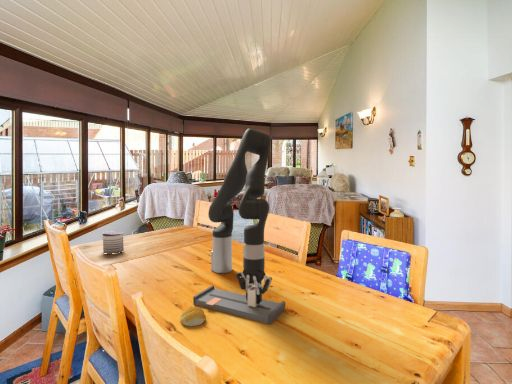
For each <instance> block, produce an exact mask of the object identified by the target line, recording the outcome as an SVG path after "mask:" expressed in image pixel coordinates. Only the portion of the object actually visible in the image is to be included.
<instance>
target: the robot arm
mask: <svg viewBox="0 0 512 384" xmlns="http://www.w3.org/2000/svg"><path fill="white" fill-rule="evenodd" d="M271 140H272V139H271V136H270V134H268V133H266V132H264V131H263V132H262V131H261V130H257V129H255V128H247V129H246V130H245V132H244V133H243V135H242V137H241V140H240V143H239V146H238V148H237V151H236V153H235V155H234V158H233V161H232V163H231V165H230V167H229V169H228V170H227V173H226V175H225V177H224V179H223V182H222V184H221V185H220V189H219V191H218V192H217V195H216V196H215V197H214V199H213V201H212V202H211V204H210V206H209V208H208V218H209V220H210V222H212V223H215V224H216V223H220V224H219V225H218V226H217V227H215V228H214V229H213V230H212V250H211V251H210V264H211V265H210V267H211V268H210V269H211V270H210V271H213V272H214V273H215V274H226V273H231V272H232V271H233V252H232V251H233V241H232V240H233V237H232V236H233V235H232V234H233V230H234V216H235V215H234V206H233V205H232V203H230V201H232V200H233V199H234V198H236V197H237V196H238V195H239V194H240V193H241V192H242V191H243V190H244V192H243V196H242V197H241V200H240V202H239V206H238V214H239V216H240V217H241V218H242V219H243V220H258V222H257V223H255V224H252V225H251V224H250V225H247V226H245V227H244V229H243V250H242V258H243V262H242V263H243V264H242V265H243V270H242V271H239V272H238V273H236V278H237V282H238V283H239V287H240V289H241V290H242V291H243V290H244V291H245V292H246V293H245V295H246V300H247V302H248V289H249V288H250V287H251V286H253V285H254V286H255V288H256V293H257V294H256V304H259V303H260V302H261V301H262V299H263V295H264V294H265V293H266V292H267V291H268V290H269V287H270V286H271V283H272V280H273V277H270V276H269V277H268V275H266V272H265V267H266V266H265V265H266V264H265V263H266V262H265V260H266V259H265V258H266V257H265V255H266V254H265V251H266V250H265V226H266V223H267V222H266V221H267V220H268V219H267V218H268V216H269V212H270V204H269V202H268V201H267V200H266V199H265V198H264V199H263V198H262V197H263V196H264V194H265V187H266V186H265V184H266V171H267V167H268V166H267V164H268V160H269V155H270V150H271ZM247 153H251V154H254V155H257V156H258V159H257V161H256V162H255V163H254V164H253V165H252V166H251V167H250V168H249V170H248V169H247V164H246V160H245V159H246V158H245V157H246V154H247ZM263 283H264V284H263Z"/></svg>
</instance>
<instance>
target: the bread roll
mask: <svg viewBox="0 0 512 384" xmlns="http://www.w3.org/2000/svg"><path fill="white" fill-rule="evenodd" d="M206 317H207V316H206V314H205V311H204V310H203V308H201V307H199V306H190V307H188V308H185V309H184V310H183V311H182V313H181V314H180V316H179V319H180V323H181V324H182V325H184V326H185V327H195V326H201V325H202V324H203V323H204V322H205V321H206V319H207V318H206Z"/></svg>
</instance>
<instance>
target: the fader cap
mask: <svg viewBox="0 0 512 384" xmlns="http://www.w3.org/2000/svg"><path fill="white" fill-rule="evenodd" d="M256 294H257V293H256V288H255V285H254V284H252V286H251V287H250V288H249V289H248V306H252V307H256V306H257V305H258V304H256Z"/></svg>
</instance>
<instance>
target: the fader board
mask: <svg viewBox="0 0 512 384" xmlns="http://www.w3.org/2000/svg"><path fill="white" fill-rule="evenodd" d="M192 298H193V305H196V306H198V307H199V306H200V307H203V308H206V309H211V310H215V311H218V312H223V313H226V314H230V315H234V316H237V317H240V318H241V317H242V318H245V319H249V320H253V321H256V322H260V323H264V324H267V325H272V324H273V323H274V322H275V321H276V320H277V319H278V318H279V317H280V315H282V313H284V312H285V311H286V301H284V300H282V301H281V302H278V301H277V302H276V301H273V300H267V299H263V298H262V301H261V302H260V303H259V304H258V305H257V306H256V307H252V306H248V302H247V300H246V294H241V293H237V292H233V291H228V290H224V289H219V288H215V285H211V286H209V287H207V288H205V289H204V290H202V291H200V292H199V293H197V294H195V295H193V297H192Z"/></svg>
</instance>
